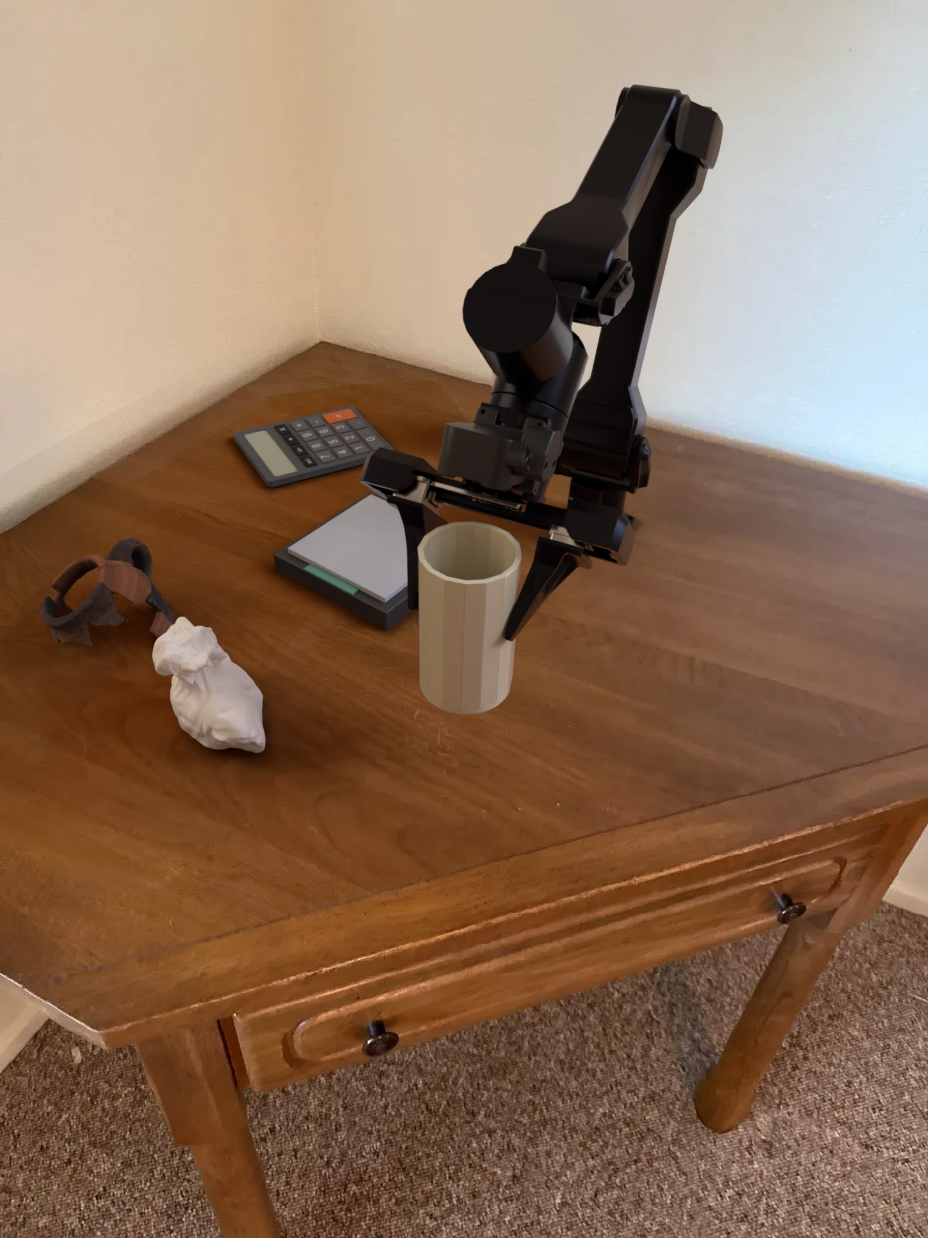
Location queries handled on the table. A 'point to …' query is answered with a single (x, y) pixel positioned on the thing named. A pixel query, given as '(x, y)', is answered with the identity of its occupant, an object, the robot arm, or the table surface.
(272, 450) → the calculator
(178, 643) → the white tied bag
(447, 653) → the cup
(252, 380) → the table surface
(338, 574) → the scale
